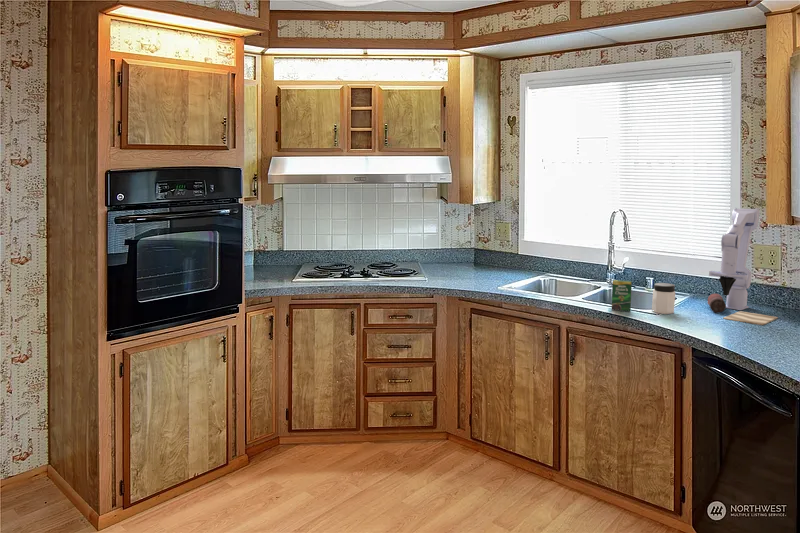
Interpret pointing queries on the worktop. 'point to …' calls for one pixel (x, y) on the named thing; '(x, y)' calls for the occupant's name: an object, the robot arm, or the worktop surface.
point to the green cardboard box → (621, 295)
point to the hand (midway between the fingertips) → (726, 294)
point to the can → (716, 303)
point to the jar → (663, 298)
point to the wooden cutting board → (750, 318)
